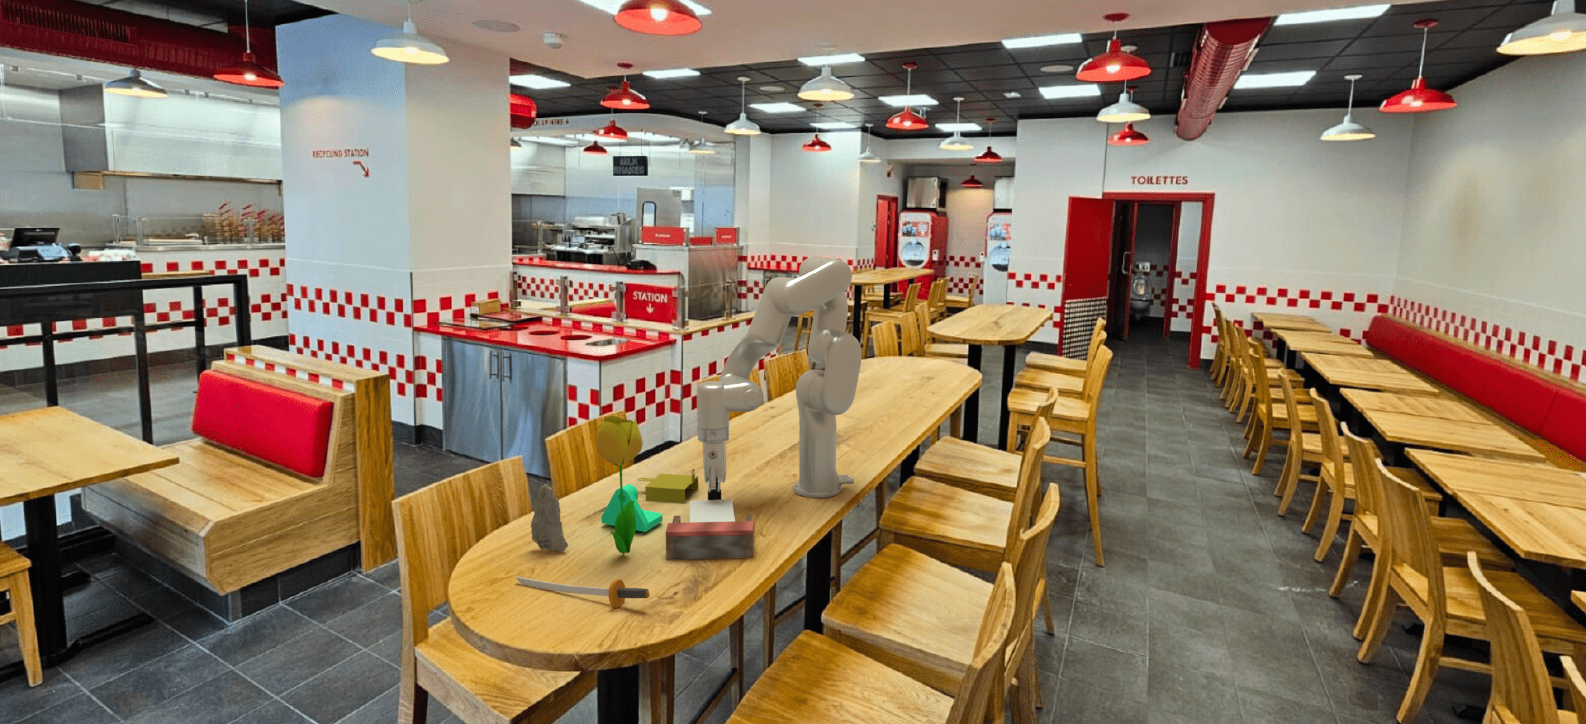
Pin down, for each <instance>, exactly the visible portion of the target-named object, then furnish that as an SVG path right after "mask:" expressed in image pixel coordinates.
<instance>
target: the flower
mask: <svg viewBox="0 0 1586 724" xmlns="http://www.w3.org/2000/svg"><path fill="white" fill-rule="evenodd" d="M596 447H597V450H598V454H599V456H600V457H601V459H603V460H605V461H606V462H608V463H611V464H612V465H614V466H617V467H618V468H619V469H618V471H619V485H620V487H619V488H620V491H621V511H620V512H619V514H618V516H617V518H616V521H615V526H614V531H612V530H611V531H610V535H611V534H612V537H613V540H614V545H615V548H616V549H617V551H618V552H619V553H621V554H622V557H623V558H625V556H626V555H625V554H627V553H628V554H629V553H631V547H632V543H633V539H634V537H635V534H636V531H637V530H636V519H635V513H634V505H633V503H634V501H629V502H628V503H627V504H626V505H625V506H624V508H623V496H622V487H623V466H624V465H625V464H627V463H629V462H631V461H633V460H634V459H635V458H636V457H637V456H638V455H639V454H640V453H641V452H642V447H643V439H642V435H641V432H640V429H639V425H638V422H637V419H636V418H634V420H631V419H624V418H621V417H620V416H616V415H610V416H607V417H605V418H604V419H603V421H602V422H601V423H600V424H599V425H598V428H597V434H596ZM635 530H636V531H635Z"/></svg>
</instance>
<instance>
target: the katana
mask: <svg viewBox="0 0 1586 724" xmlns="http://www.w3.org/2000/svg"><path fill="white" fill-rule="evenodd" d="M514 577H515V579H516V580H517V581H518V582H519V584H521V585H523V586H526V585H529V586H528V587H530V586H532V587H531V588H535V587H536V588H535V589H541V590H546V591H552V592H559V593H567V594H575V595H576V594H577V595H578V594H579V595H590V596H591V595H593V596H603V597H608V600H609V604H610V606H611V607H612V608H614V609H618V608H620V607H621V606H622V605H623V604H624V603H625V601H626V599H649V597H650V596H651V595H650V590H649V589H648V588H640V587H626V585H625V583H624V581H623V579H621V578H620V579H619V578H615V579H614V580H612V582H611V583H610V585H609V588H608V587H595V586H582V585H569V584H564V583H563V584H562V583H557V582H556V583H555V582H550V581H548V582H547V581H545V580H544V581H542V580H537V579H530V578H526V577H521V576H516V575H515V576H514ZM621 604H622V605H621ZM620 605H621V606H620ZM619 606H620V607H619Z"/></svg>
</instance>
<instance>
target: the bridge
mask: <svg viewBox="0 0 1586 724" xmlns="http://www.w3.org/2000/svg"><path fill="white" fill-rule="evenodd" d="M681 519H682V518H681V515H673V518H672V522H667V526H666V529H665V549H666V550H665V553H666V554H665V555H666V556H665V558H666V559H665V560H675V561H676V560H680V561H681V560H705V559H706V560H710V559H711V560H713V559H714V560H715V559H717V560H719V559H746V558H754V524H753V522H754V521H753V519H754V518H753V513H746V514H745V520H744V521H742V520H740V521H738V520H737V521H736V520H735V521H731V522H690V521H687V522H681V521H682V520H681Z"/></svg>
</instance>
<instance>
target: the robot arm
mask: <svg viewBox="0 0 1586 724" xmlns="http://www.w3.org/2000/svg"><path fill="white" fill-rule="evenodd" d="M798 269H799V270H798V273H799V277H796V278H793V277H787V276H785V277H784V276H778V277H774V278H772V279H770V280H769V281H768V282H767V284H766V285H765V288H764V289H763V292H762V295H761V297H760V299H759V302H758V304H757V307H756V310H755V313H754V314H753V317H752V320H751V323H750V325H749V327H748V330H747V332H746V334H745V335H744V337H742V339H740V341H739V342H738V344H737V345H736V346H735V348H733V350H732V351H731V353H730V354H729V356H728V358H727V360H726V361H725V364H724V366H723V367H722V368H723V370H722V372H721V374H720V376H719V379H718V380H710V381H709V380H708V381H702V382H701V383H699V384H698V385H697V387H696V414H697V415H696V417H697V419H696V420H697V421H696V422H697V423H696V424H697V441H698V442H700V443H702V457H703V458H702V460H703V462H702V463H703V475H704V476H703V477H704V482H705V483H706V484H708V485H707V488H708V489H707V500H722V489H721V483H722V484H723V483H726V479H727V447H726V442H727V441H729V440H730V412H731V413H733V412H735V413H736V412H740V413H749V412H753V411H755V410H757V409H758V408H759V407H761V405H762V404H763V402H764V391H763V389H762V388H761V387H760V386H759V385H758V384H757V383H756V382H754V381H752V380H750V377H751V374H752V371H753V369H754V367H755V366H756V364H757V363H758V362H759V361H760V360H761V359H762V358H763V357H764V356H766V355H768V354H769V353H771V352H773V351H775V350H776V349H778V348H779V347H780V346H781V344H782V341H783V339H784V336H785V334H786V331H787V329H788V326H789V323H790V321H791V318H792V316H800V315H804V314H806V313H808V312H810V311H813V316H812V317H813V318H812V323H811V330H810V335H809V341H808V347H807V348H808V349H807V353H808V356H809V357H808V358H809V359H810V360H811V361H812V362H813V363H815V364H818V365H819V366H822V367H824V370H821V369H809V370H806V371H805V372H804V373H802V374H801V375H800V376H799V378H798V379H797V382H796V385H795V386H796V387H795V397H796V403H797V404H796V405H797V408H798V409H797V410H798V424H799V426H798V427H799V428H798V429H799V433H798V434H799V435H798V440H799V441H798V445H799V446H798V448H799V449H798V450H799V451H798V452H799V453H798V454H799V455H798V457H799V458H798V459H799V460H798V468H799V469H798V471H799V472H798V478H799V479H798V480H797V481H795V483H794V484H793V486H792V490H793V491H794V492H795V494H796V495H799V496H802V497H806V498H813V499H815V498H816V499H821V498H822V499H823V498H829V497H830V498H831V497H834V496H837V495H838V494H840V493H841V492H842V489H843V488H842V487H843V486H842V485H854V484H855V477H854V476H849V475H848V474H839V473H838V471H837V467H836V466H837V418H836V416H840V415H843V414H845V413H846V412H847V411H849V409H850V408H851V407H852V405H853V403H854V400H855V398H856V397H855V395H856V392H857V386H858V382H859V377H860V370H861V364H862V354H863V353H862V347H861V344H860V342H859V340H858V339H857V337H855V336H854V335H853V334H851V333H849V332H846V329H847V323H848V322H847V321H848V315H849V304H848V298H847V294H846V291H847V289H848V288H849V287H850V286H851V284H852V280H853V273H852V269H851V267H850V265H849V264H848V263H847V262H846V261H845V260H842V259H839V258H832V257H823V256H812V257H808V258H805V259H804V260H803V261H802V262H801V264H800V265H799V268H798Z"/></svg>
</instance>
